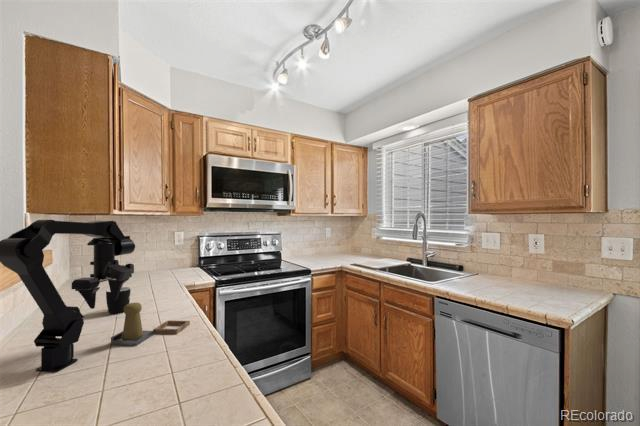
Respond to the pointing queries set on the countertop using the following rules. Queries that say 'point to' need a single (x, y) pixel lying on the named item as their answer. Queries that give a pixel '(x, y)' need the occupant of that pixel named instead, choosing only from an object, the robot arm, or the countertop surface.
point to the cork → (132, 321)
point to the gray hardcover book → (119, 340)
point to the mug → (118, 300)
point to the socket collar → (171, 331)
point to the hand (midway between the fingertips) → (104, 304)
